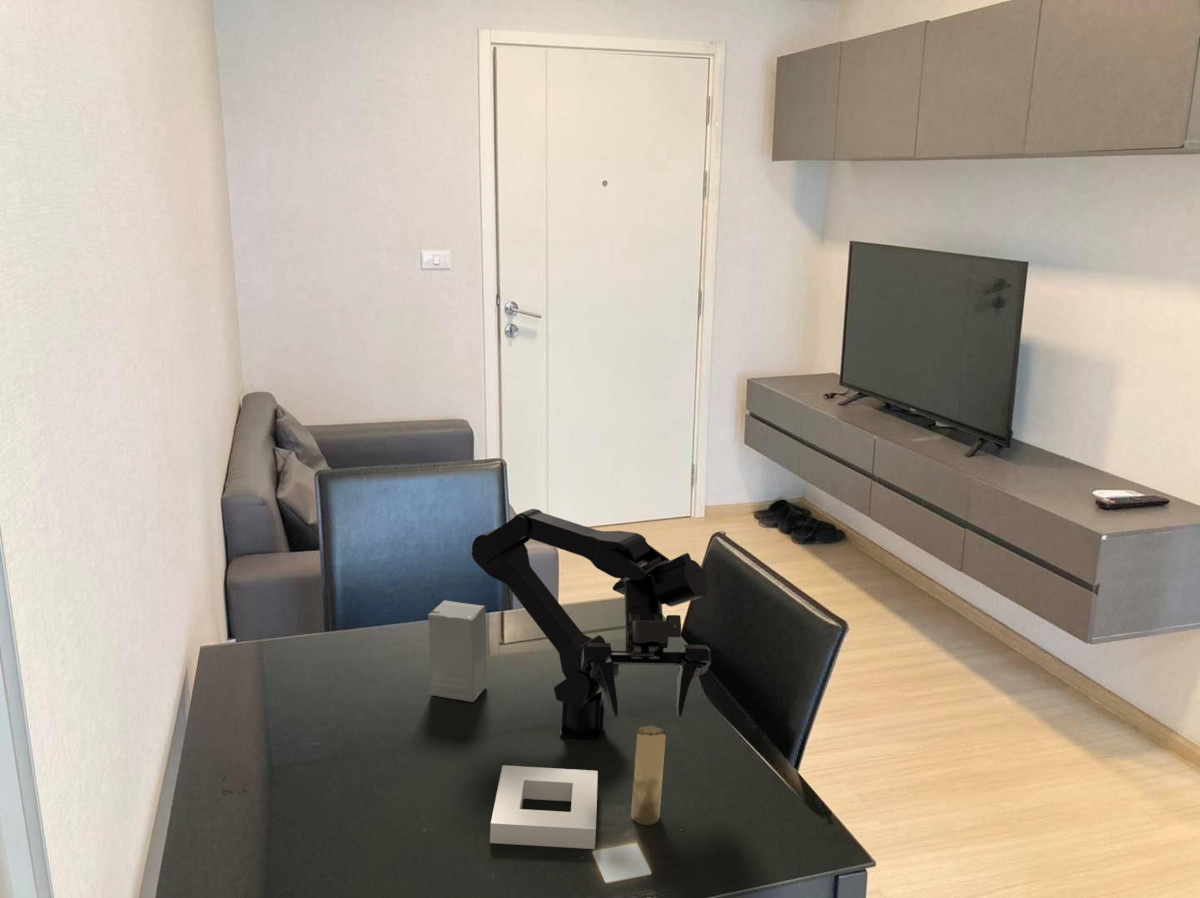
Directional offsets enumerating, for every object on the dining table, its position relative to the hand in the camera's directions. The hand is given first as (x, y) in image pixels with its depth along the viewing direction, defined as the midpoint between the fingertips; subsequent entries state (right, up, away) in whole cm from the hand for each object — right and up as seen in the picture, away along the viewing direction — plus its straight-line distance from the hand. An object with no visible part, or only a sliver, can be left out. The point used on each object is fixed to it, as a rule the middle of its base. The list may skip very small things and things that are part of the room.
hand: (647, 716), depth 139 cm
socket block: (-14, -13, -3) cm, 20 cm away
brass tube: (0, -14, -2) cm, 14 cm away
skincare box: (-32, -4, +30) cm, 44 cm away
